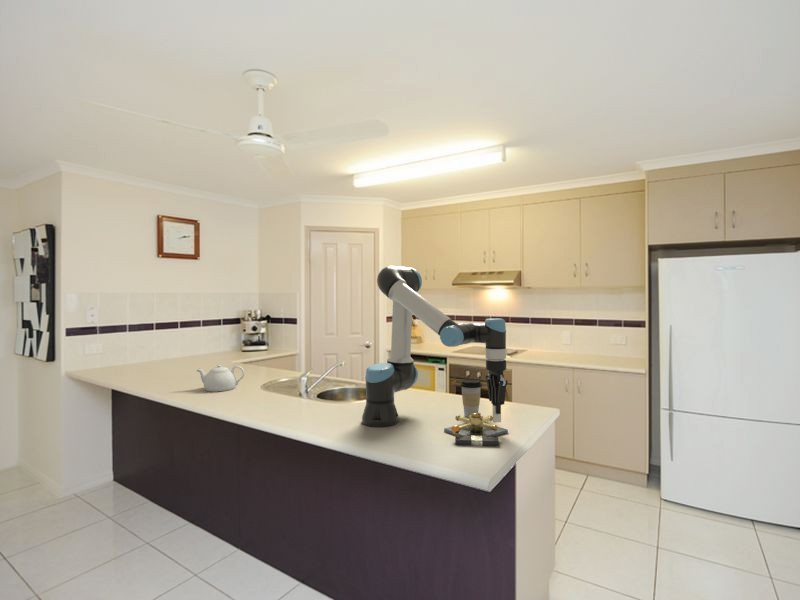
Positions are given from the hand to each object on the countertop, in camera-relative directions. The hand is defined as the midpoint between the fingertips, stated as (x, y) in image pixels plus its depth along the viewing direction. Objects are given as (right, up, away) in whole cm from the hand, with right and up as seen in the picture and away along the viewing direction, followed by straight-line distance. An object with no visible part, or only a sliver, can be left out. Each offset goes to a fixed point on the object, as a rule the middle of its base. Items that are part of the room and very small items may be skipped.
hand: (496, 421), depth 168 cm
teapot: (-137, -4, +82) cm, 159 cm away
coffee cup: (-6, -4, +25) cm, 26 cm away
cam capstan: (-9, -3, 0) cm, 10 cm away
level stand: (-8, -5, -3) cm, 10 cm away
